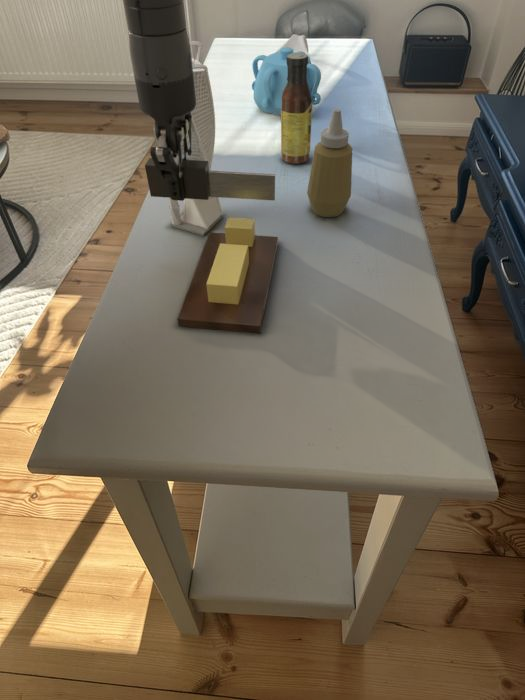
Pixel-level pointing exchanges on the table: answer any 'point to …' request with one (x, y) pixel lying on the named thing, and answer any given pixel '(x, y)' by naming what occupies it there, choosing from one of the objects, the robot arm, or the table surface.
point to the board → (252, 297)
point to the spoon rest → (297, 44)
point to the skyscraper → (199, 156)
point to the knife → (213, 182)
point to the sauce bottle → (296, 111)
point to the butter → (228, 274)
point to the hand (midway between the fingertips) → (180, 193)
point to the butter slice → (240, 231)
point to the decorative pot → (279, 80)
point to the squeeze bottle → (331, 170)
